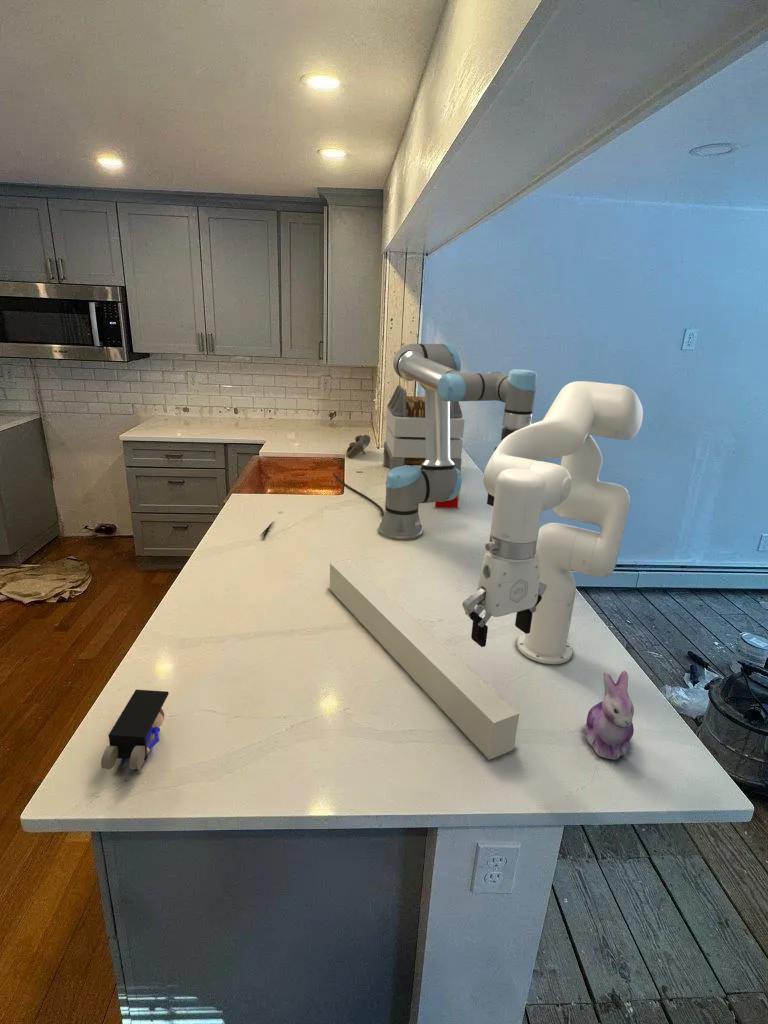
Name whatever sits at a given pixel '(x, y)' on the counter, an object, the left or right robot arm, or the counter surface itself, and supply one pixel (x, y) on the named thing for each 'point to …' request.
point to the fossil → (358, 446)
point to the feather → (267, 530)
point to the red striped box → (448, 503)
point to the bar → (429, 662)
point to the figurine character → (135, 730)
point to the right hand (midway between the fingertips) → (500, 636)
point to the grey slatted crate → (416, 431)
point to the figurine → (611, 719)
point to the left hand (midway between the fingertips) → (506, 501)
